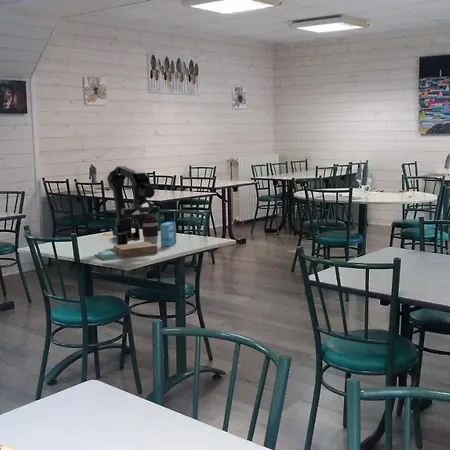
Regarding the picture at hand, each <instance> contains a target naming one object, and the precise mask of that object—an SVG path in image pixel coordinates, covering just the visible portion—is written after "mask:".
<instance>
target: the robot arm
mask: <svg viewBox="0 0 450 450" xmlns="http://www.w3.org/2000/svg"><path fill="white" fill-rule="evenodd" d="M126 178H127V179H129V181H130V182H131V183H132V185H131V188H133V199H132V200H133V205H134V206H133V208H130V207H125V200H124V194H123V188H124V185H125V180H126ZM106 180H107V182H108V187H109V188H110V189H111V190H112V193H113V194H112V195H113V200H114V206H115V213H116V218H115V221H114V227H113V230H112V231H111V233H112V236H113V237H116V245H123V244H129V240H127V235H131V231H132V227H133V226H132V222H131V219H130V218H129V217H128V215H129V216H130V215H132V216H134V218H135V219H136V222H137V223H138V225H139V228H142V226H143V223H144V219H145V217H146V216H150V214H149V213H150V212H153V213H160V207H159V206H157V205H154V202H152V201H148V202H147V199H151V198H153V197H154V196H155V189H154V187H152V185H151V180H150V179H149V178H148V175H147V173H146V172H145V171H143V170H142V171H141V170H138V171H137V170H134V169H132V168H130V167H127V166H125V165H120V166H119V165H118V166H116V167H115V168H114V169H113V170H112V171H110V172H109V174H108V175H107V179H106Z"/></svg>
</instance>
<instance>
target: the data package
mask: <svg viewBox="0 0 450 450" xmlns="http://www.w3.org/2000/svg"><path fill="white" fill-rule="evenodd" d="M176 226H177V225H176V222H175V221H166V222H162V224H160V226H159V228H160V245H161V247H164V248H165V247H167V248H170V247H172V246H173V245H175V244H176V243H177V227H176Z"/></svg>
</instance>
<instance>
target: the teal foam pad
mask: <svg viewBox="0 0 450 450" xmlns="http://www.w3.org/2000/svg"><path fill="white" fill-rule="evenodd" d="M97 254H98V256H99V257H101V258H103V259H108V258H115V257H116V253H114V251H111V250H102V251H97Z"/></svg>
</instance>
